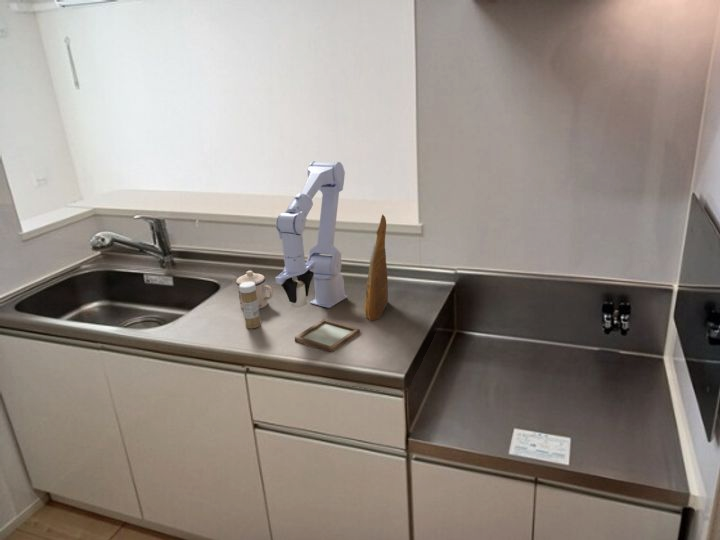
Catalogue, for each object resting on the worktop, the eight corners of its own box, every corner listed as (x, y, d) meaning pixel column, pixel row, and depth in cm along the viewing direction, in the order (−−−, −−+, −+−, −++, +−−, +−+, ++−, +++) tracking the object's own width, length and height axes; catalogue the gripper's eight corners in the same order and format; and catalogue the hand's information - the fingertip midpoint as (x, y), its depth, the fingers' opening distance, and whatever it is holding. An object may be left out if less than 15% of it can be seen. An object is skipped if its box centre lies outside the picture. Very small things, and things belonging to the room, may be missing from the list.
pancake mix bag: (396, 297, 181) (392, 212, 171) (383, 324, 164) (378, 232, 154) (375, 296, 183) (371, 212, 173) (360, 323, 166) (354, 231, 156)
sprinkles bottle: (256, 320, 172) (250, 279, 167) (263, 325, 168) (258, 283, 163) (242, 325, 169) (236, 284, 164) (250, 330, 166) (243, 288, 161)
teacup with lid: (234, 309, 180) (229, 275, 176) (249, 297, 188) (244, 265, 184) (267, 313, 176) (262, 278, 172) (281, 301, 184) (277, 268, 179)
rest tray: (324, 322, 168) (323, 318, 167) (360, 332, 161) (359, 328, 160) (294, 341, 158) (294, 337, 158) (331, 352, 151) (331, 348, 150)
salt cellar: (298, 299, 168) (296, 279, 165) (309, 302, 165) (307, 281, 163) (288, 305, 164) (285, 284, 162) (299, 308, 162) (297, 287, 159)
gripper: (300, 244, 167) (305, 287, 172) (265, 260, 156) (271, 305, 161) (319, 248, 163) (323, 291, 168) (284, 264, 152) (289, 310, 157)
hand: (298, 298), depth 164 cm, fingers closed on salt cellar, 4 cm apart
